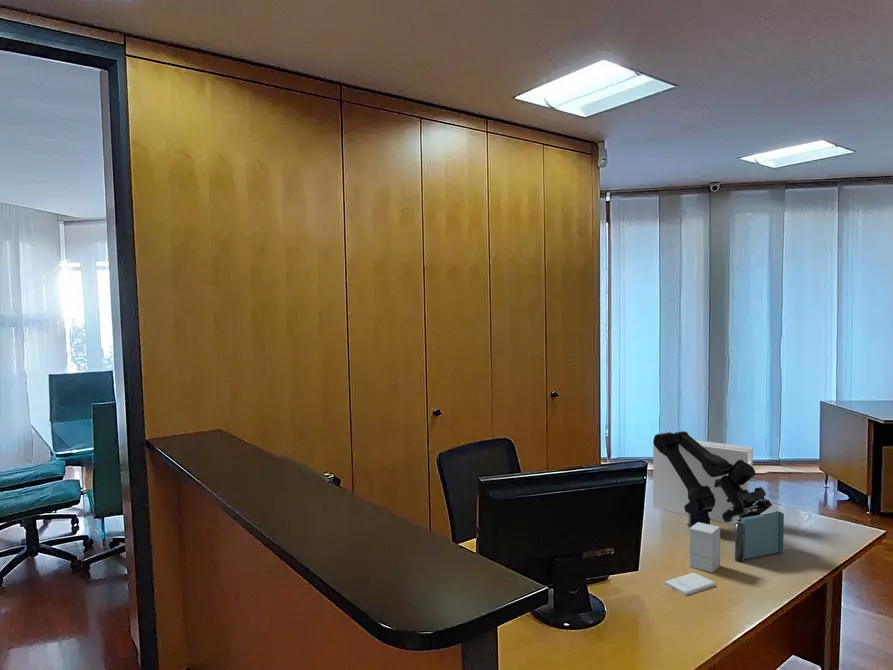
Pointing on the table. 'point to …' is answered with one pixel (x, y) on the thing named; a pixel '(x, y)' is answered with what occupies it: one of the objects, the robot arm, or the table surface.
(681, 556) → the table surface
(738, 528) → the gate post
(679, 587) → the external hard drive
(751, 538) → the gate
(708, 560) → the supplement box
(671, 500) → the block
